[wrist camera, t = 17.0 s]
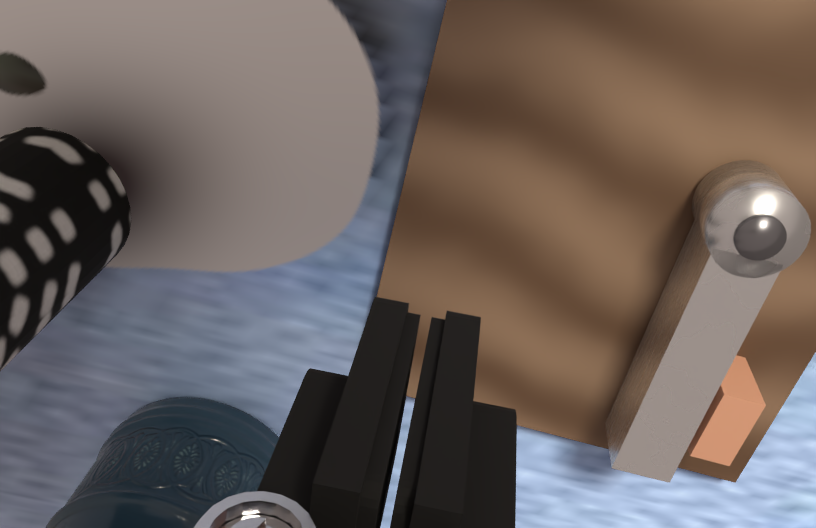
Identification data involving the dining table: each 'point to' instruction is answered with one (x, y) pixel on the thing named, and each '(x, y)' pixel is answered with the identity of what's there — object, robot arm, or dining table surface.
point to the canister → (170, 466)
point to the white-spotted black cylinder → (52, 228)
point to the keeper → (729, 416)
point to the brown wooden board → (598, 190)
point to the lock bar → (704, 313)
